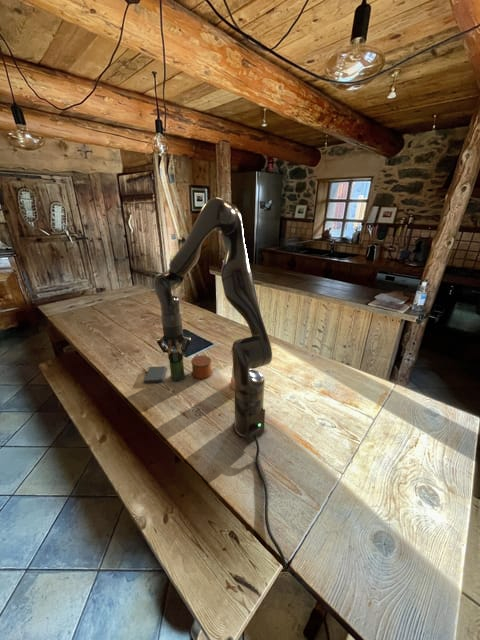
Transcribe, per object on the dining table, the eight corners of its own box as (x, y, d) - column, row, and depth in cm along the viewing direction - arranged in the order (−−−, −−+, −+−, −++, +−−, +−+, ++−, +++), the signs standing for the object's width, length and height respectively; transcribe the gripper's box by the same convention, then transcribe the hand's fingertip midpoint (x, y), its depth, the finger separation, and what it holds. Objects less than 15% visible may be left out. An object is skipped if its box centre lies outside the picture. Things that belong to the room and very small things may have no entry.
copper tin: (215, 374, 115) (214, 362, 113) (197, 381, 111) (196, 368, 108) (206, 365, 122) (205, 353, 119) (189, 371, 118) (188, 359, 115)
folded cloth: (161, 382, 111) (161, 379, 110) (144, 382, 110) (144, 380, 110) (165, 368, 120) (165, 366, 119) (150, 369, 119) (149, 366, 119)
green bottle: (186, 377, 113) (184, 351, 108) (174, 381, 110) (171, 355, 105) (181, 370, 117) (178, 346, 112) (169, 375, 114) (166, 349, 109)
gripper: (151, 327, 99) (157, 365, 107) (189, 326, 100) (192, 364, 107) (155, 319, 106) (160, 356, 113) (191, 318, 107) (194, 354, 114)
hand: (176, 360), depth 110 cm, fingers closed on green bottle, 3 cm apart
